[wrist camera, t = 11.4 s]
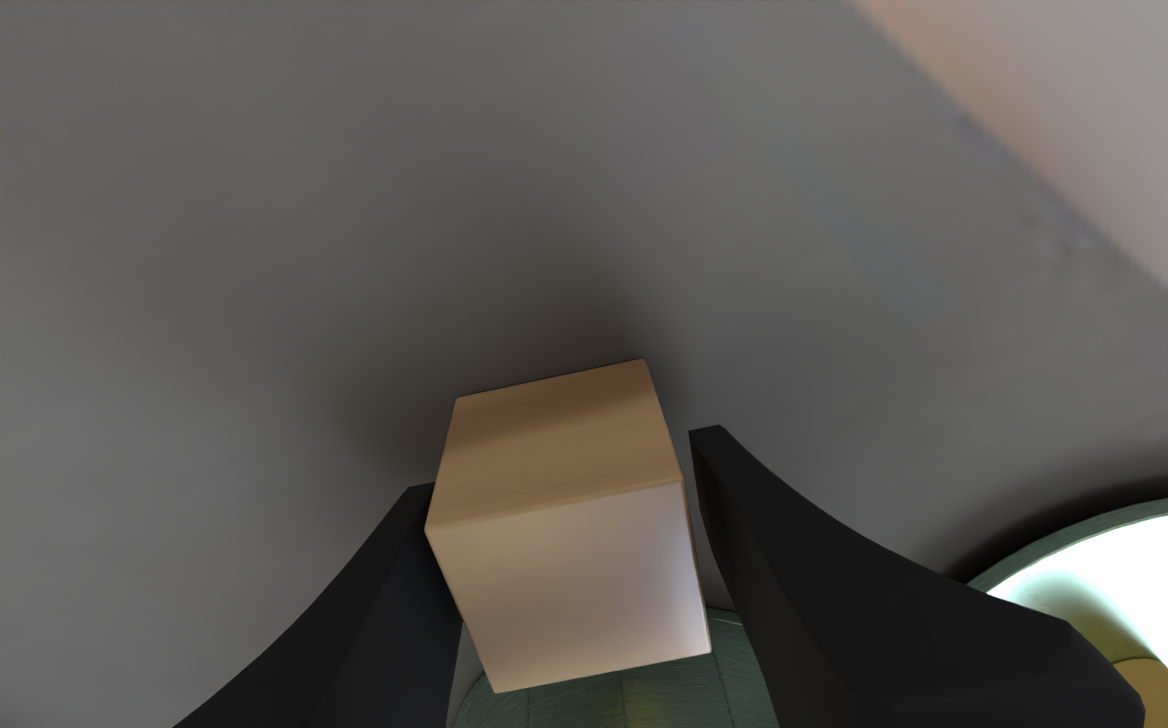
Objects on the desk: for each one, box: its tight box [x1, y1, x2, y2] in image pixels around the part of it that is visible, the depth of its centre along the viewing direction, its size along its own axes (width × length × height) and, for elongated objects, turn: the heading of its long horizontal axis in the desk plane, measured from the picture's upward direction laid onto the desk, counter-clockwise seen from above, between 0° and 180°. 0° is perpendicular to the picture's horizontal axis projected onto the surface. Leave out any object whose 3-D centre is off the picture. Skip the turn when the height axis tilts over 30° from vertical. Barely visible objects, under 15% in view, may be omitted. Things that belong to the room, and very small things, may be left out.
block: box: [424, 359, 712, 693], centre depth 12 cm, size 4×4×4 cm
